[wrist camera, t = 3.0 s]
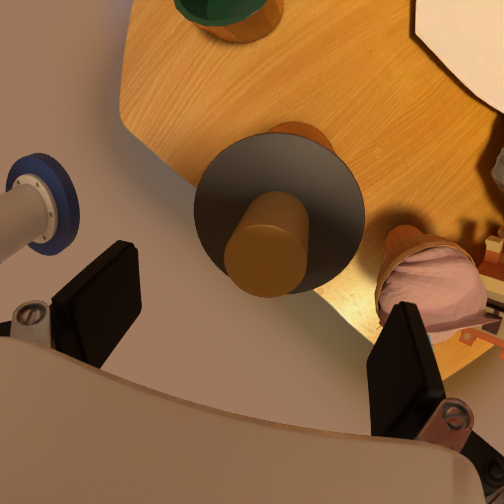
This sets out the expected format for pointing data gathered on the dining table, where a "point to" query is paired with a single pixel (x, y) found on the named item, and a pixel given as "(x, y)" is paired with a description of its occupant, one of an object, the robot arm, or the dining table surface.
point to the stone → (499, 171)
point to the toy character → (491, 295)
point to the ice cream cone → (430, 282)
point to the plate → (467, 42)
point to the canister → (233, 17)
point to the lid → (279, 214)
